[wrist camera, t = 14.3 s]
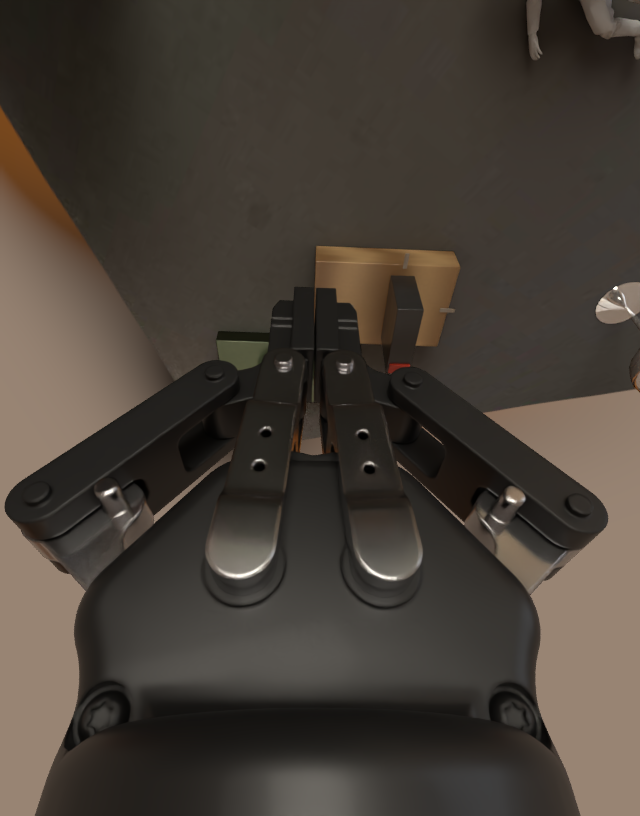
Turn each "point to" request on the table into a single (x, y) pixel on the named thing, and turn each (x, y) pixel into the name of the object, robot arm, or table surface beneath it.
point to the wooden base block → (369, 283)
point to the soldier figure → (598, 16)
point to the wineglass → (623, 317)
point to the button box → (244, 349)
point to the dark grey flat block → (401, 322)
